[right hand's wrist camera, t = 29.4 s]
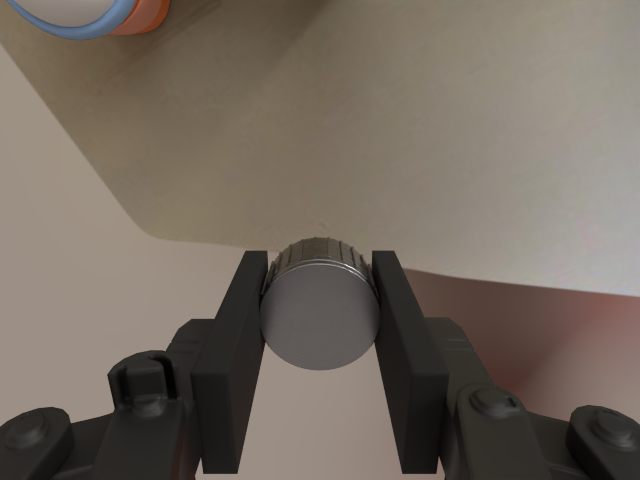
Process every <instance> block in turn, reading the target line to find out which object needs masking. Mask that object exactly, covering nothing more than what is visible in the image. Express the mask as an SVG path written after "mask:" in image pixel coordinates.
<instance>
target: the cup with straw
mask: <svg viewBox="0 0 640 480" xmlns="http://www.w3.org/2000/svg"><path fill="white" fill-rule="evenodd" d="M7 1H8V3H9V4H10V5H11V6H12V7H13V8H14V9H15V10H16V11H17V12H18V13H19V14H20V15H21V16H22V17H24V18H25V19H26V20H27V21H29V22H30V23H32V24H33V25H35V26H36V27H38V28H40V29H41V30H43V31H45V32H47V33H50V34H52V35H55V36H58V37H62V38H66V39H72V40H88V39H94V38H98V37H101V36H103V35H106V34H107V35H130V34H134V33H145V32H149V31H151V30H153V29H155V28H156V27H158V26H159V25H160V24H161V23H162V21H163V20H164V19H165V17H166V15H167V12H168V9H169V5H170V0H7Z"/></svg>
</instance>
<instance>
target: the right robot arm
mask: <svg viewBox="0 0 640 480" xmlns="http://www.w3.org/2000/svg"><path fill="white" fill-rule="evenodd" d="M267 271H268V256H267V251H245V253H244V255H243V258H242V260H241V262H240V264H239V266H238V269H237V271H236V273H235V275H234V277H233V280H232V282H231V284H230V286H229V288H228V291H227V293H226V295H225V297H224V299H223V301H222V304H221V306H220V308H219V310H218V313H217V315H216V317H215V319H191V320H190V321H188V322H187V323H186V324H184V325H183V326H182V327H180V328H179V329H178V331H177V332H176V334H175V336H174V338H173V339H172V343H170V344H169V346H168V348H167V349H166V351H162V350H150V351H146V352H140V353H136V354H134V355H132V356H129V357H127V358H124V359H123V360H122V361H120V362H119V363H117V364H116V365H115V366H113V368H112V369H111V370H110V372H109V373H108V375H107V376H108V380H109V385H110V389H111V393H112V398H113V403H114V407H115V409H114V412H113V413H111V414H107V415H104V416H101V417H97V418H92V419H89V420H84V421H80V422H75V423H71V422H70V418H69V415H68V414H67V413H66V412H65V411H64V410H63V409H59V408H55V407H47V408H38V409H34V410H31V411H28V412H25V413H22V414H20V415H18V416H16V417H14V418H13V419H11V420H9V421H7V422H6V423H5V424H3V425H2V426H1V427H0V480H195V474H196V471H197V468H198V465H199V461H200V458H201V460H202V467H203V473H204V474H237V473H238V468H239V464H240V459H241V454H242V450H243V445H244V440H245V435H246V431H247V426H248V421H249V417H250V412H251V407H252V403H253V398H254V393H255V389H256V384H257V379H258V375H259V370H260V365H261V361H262V356H263V351H264V347H265V342H266V341H265V340H264V338H263V335H262V333H261V330H260V317H259V307H260V303H261V299H262V296H261V292H262V288H263V285H264V281H265V278H266V274H267ZM371 272H372V275H373V278H374V282H375V285H376V289H377V293H378V296H379V304H380V309H381V312H380V329H379V332H378V335H377V337H376V339H375V341H374V343H375V348H376V353H377V357H378V362H379V367H380V371H381V376H382V381H383V385H384V390H385V395H386V399H387V404H388V409H389V413H390V418H391V423H392V427H393V432H394V437H395V441H396V446H397V451H398V456H399V460H400V465H401V470H402V473H403V474H436V473H437V465H438V458H439V457H440V460H441V463H442V467H443V470H444V473H445V479H444V480H640V425H639V424H638V423H637V422H636V421H634V420H633V419H631V418H629V417H627V416H625V415H624V414H622V413H620V412H618V411H615V410H612V409H608V408H605V407H602V406H592V405H587V406H582V407H578V408H576V409H575V410H574V411H573V412H572V414H571V417H570V421H569V422H568V421H563V420H559V419H555V418H550V417H546V416H542V415H538V414H535V413H532V412H529V411H526V409H525V407H524V405H523V404H522V402H521V401H520V399H519V398H517V397H516V396H515V395H514V394H512V393H511V392H510V391H508V390H506V389H504V388H502V387H500V386H498V385H495V384H494V382H493V380H492V379H491V377H490V375H489V374H488V372H487V370H486V368H485V367H484V365H483V363H482V362H481V360H480V358H479V357H478V355H477V353H476V352H475V351H474V348H473V346H472V345H471V343H470V342H468V338H467V336H466V335H465V333H464V331H463V330H462V328H461V327H460V326H459V325H457V324H456V323H455V322H453V321H452V320H451V319H449V318H425V317H424V315H423V313H422V311H421V309H420V306H419V304H418V302H417V300H416V298H415V296H414V293H413V291H412V289H411V287H410V285H409V283H408V280H407V278H406V276H405V274H404V271H403V269H402V267H401V265H400V263H399V260H398V258H397V256H396V254H395V252H394V251H372V271H371Z"/></svg>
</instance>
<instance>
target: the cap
mask: <svg viewBox="0 0 640 480" xmlns="http://www.w3.org/2000/svg"><path fill="white" fill-rule="evenodd" d="M261 296H262V299H261V303H260V307H259V317H260V330H261V333H262V335H263V338H264V340H265V341H266V343H267V344H268V346H269V347H270V348H271V350H272V351H273V352H274V353H276V354H277V355H278V356H279V357H280V358H282V359H283V360H285V361H286V362H288V363H290V364H292V365H295V366H297V367H301V368H304V369H310V370H330V369H335V368H339V367H342V366H345V365H347V364H350V363H351V362H353V361H355V360H357V359H358V358H359V357H361V356H362V355H363V354H364V353H365V352H366V351H367V350H368V349H369V348H370V347H371V346H372V344H373V342H374V341H375V339H376V337H377V335H378V332H379V329H380V312H381V309H380V304H379V296H378V293H377V289H376V285H375V282H374V278H373V275H372V272H371V268H370V265H369V264H368V265H367V263H366V261H365V260H364V257H363V255H362V254H361V255H360V254H359V253H358V252H357V251H356V250H355V249H354V247H351V246H349V245H347V244H345V243H343V242H342V241H338V240H335V239H330V238H328V237H327V238H317V237H314V238H310V239H305V240H303V239H302V240H301V241H299V242H297V243H295V244H292V245H289V247H288V248H286V249H285V250H284V251H283V252H280V253H279V256H278V257H277V258H276V259H275V261H272V263H271V267H270V270H269V272H268V271H267V274H266V278H265V281H264V285H263V288H262V292H261Z"/></svg>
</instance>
